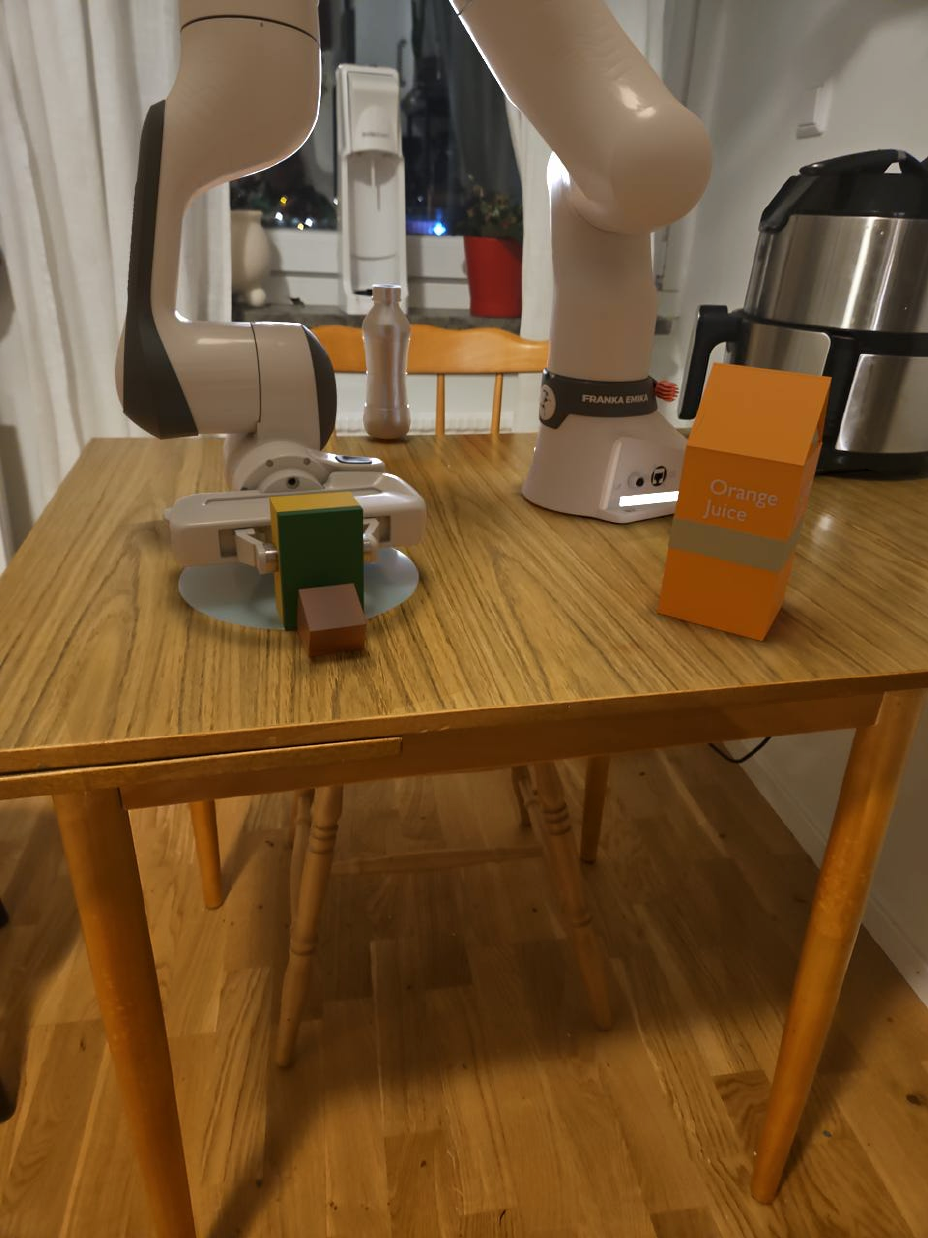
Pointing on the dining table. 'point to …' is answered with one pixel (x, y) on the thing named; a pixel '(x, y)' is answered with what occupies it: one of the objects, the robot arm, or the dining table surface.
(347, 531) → the sponge
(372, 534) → the robot arm
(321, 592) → the brown cube
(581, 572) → the dining table surface
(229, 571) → the plate
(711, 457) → the orange juice
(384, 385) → the plastic bottle
